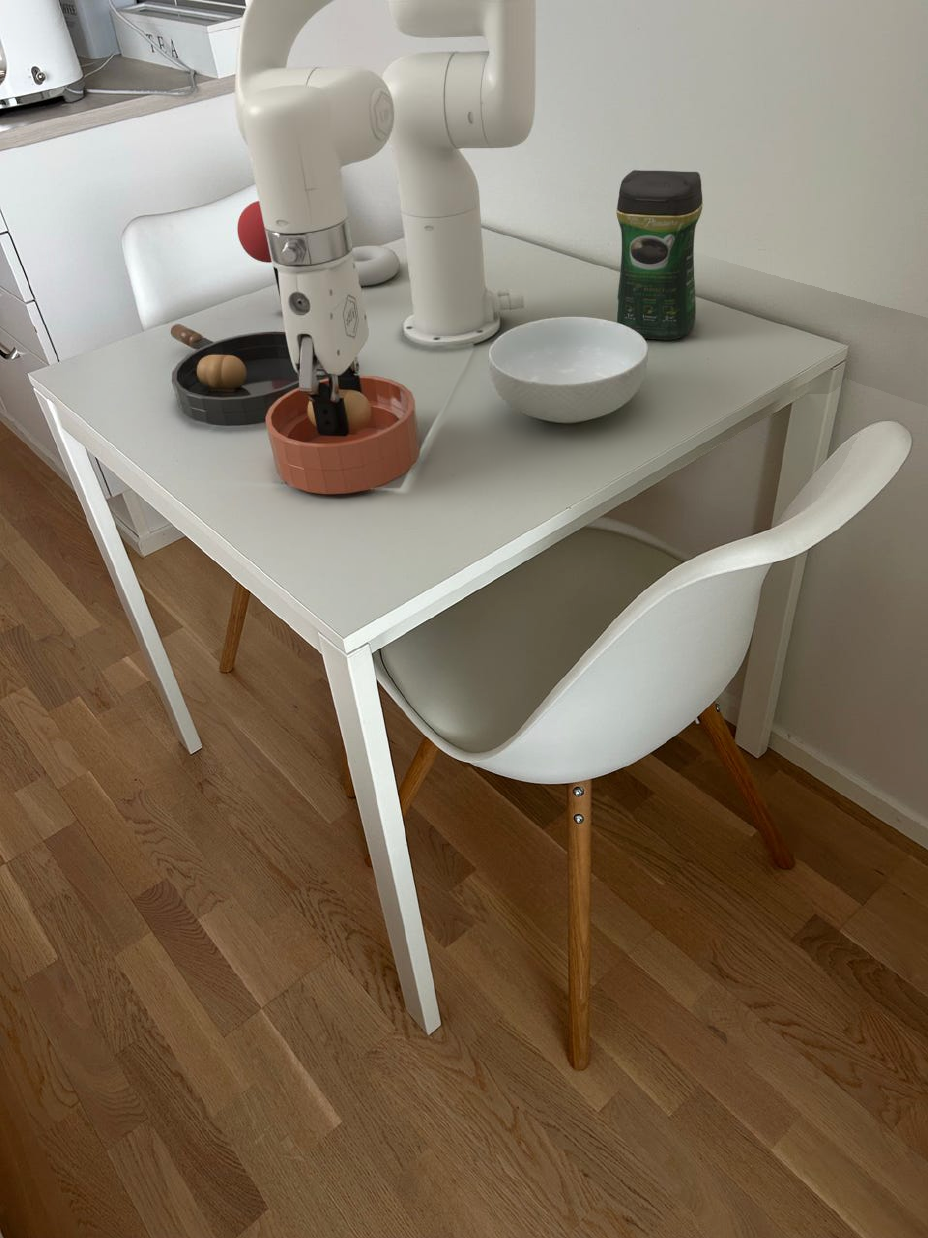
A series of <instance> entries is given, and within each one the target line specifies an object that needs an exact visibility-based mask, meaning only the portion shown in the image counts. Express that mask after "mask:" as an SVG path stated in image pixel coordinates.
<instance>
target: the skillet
mask: <svg viewBox="0 0 928 1238" xmlns="http://www.w3.org/2000/svg"><path fill="white" fill-rule="evenodd" d="M213 342H214V343H211V344H209V345H206V346H204V347H201V348H200V349H195V350H194V351H192V352H191V353H189V354H188V355H186V356H184V358H182V359H181V360H180V361H179V362H177V364H176V365H175V367H174V369H172V372H171V383H172V387H173V390H174V393H175V397H176V399H177V400H176V401H177V404H178V406H179V409H180V410H181V412H182V413H183V414H184V415H186V416H187V417H188V418H190V419H192V420H194V421H197V422H199V423H203V424H208V425H212V426H213V425H214V426H223V427H224V426H225V427H226V426H227V427H231V426H232V427H235V426H237V427H239V426H249V425H255V424H256V425H257V424H262V423H266V419H265V418H266V415H267V413H268V410H269V408H270V407H271V406H272V405H273V404H274V403H275V402H276V401H277V400H278V399H279V398H281V397H282V396H284V395H285V394H287V393H288V392H290V391H292V390H294V389H296V388H299V377H300V374H298V373H297V372H296V371H295V369H294V367H293V364H292V361H291V357H290V353H289V348H288V344H287V338H286V333H285V331H261V332H260V331H259V332H252V333H244V334H239V335H233V336H231V337H226V338H222V339H219V340H216V341H213ZM208 355H232V356H235V357H237V358H239V359H240V360H241V361H242V362H243V364H244V365H245V368H246V379H245V381H244V383H243V384H242V385H241V386H240V387H238V388H236V389H235V390H234V391H233V392H225V391H211V390H210V388H208V387H206V386H204V385H203V384H202V383H201V382H200V380H199V378H198V376H197V366H198V364H199V362H200V360H201V359H202V358H204V357H205V356H208ZM317 368H323V366H322V365H321V364H317ZM324 379H328V377H317V380H318V381H319V380H324Z"/></svg>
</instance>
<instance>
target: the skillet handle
mask: <svg viewBox="0 0 928 1238" xmlns="http://www.w3.org/2000/svg"><path fill="white" fill-rule="evenodd" d="M170 334H171V336H172V338H173V339H174V340H176V341H178V342H180V343H182V344H183V345H186V346H188V347H189V348H192V349H193V350H198V349H200V348H201V347H204V346H206V345H209V344H211V343H214V342H215V341H212V340H210V339H209V338H207V337H204V336H203V335H202V334H201V333H199V332H197V331H195V330H193V329H191V328H189V327H187V326H185V325H183V324H180V323H176V324H174V325H172V326H171V328H170Z"/></svg>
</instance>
